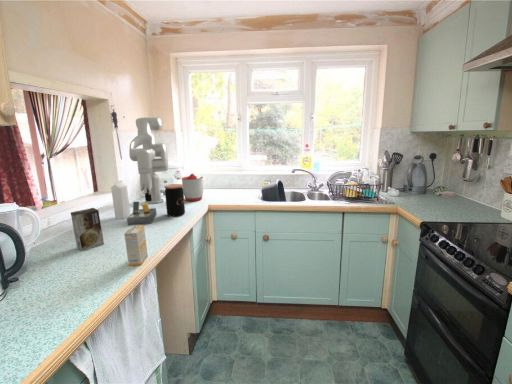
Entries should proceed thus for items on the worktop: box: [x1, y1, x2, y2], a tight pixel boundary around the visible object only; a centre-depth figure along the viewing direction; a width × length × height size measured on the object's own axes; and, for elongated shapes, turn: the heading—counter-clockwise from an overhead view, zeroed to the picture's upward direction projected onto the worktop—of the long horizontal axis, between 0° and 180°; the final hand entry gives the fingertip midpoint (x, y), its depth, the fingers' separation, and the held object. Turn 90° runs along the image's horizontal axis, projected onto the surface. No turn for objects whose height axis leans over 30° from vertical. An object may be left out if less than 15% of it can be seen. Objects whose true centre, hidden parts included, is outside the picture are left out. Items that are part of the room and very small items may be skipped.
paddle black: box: [132, 201, 140, 213], centre depth 154 cm, size 2×3×7 cm, turn 101°
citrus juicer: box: [181, 173, 204, 202], centre depth 200 cm, size 16×17×20 cm
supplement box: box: [123, 224, 148, 267], centre depth 101 cm, size 8×5×13 cm, turn 5°
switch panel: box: [126, 207, 158, 226], centre depth 154 cm, size 18×12×4 cm, turn 11°
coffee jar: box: [164, 183, 186, 218], centre depth 162 cm, size 11×11×18 cm
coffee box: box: [70, 207, 105, 252], centre depth 116 cm, size 9×6×16 cm
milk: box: [110, 180, 131, 220], centre depth 157 cm, size 6×6×22 cm
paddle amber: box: [141, 202, 150, 213], centre depth 152 cm, size 2×3×7 cm, turn 102°
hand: (148, 200), depth 161 cm, fingers closed
